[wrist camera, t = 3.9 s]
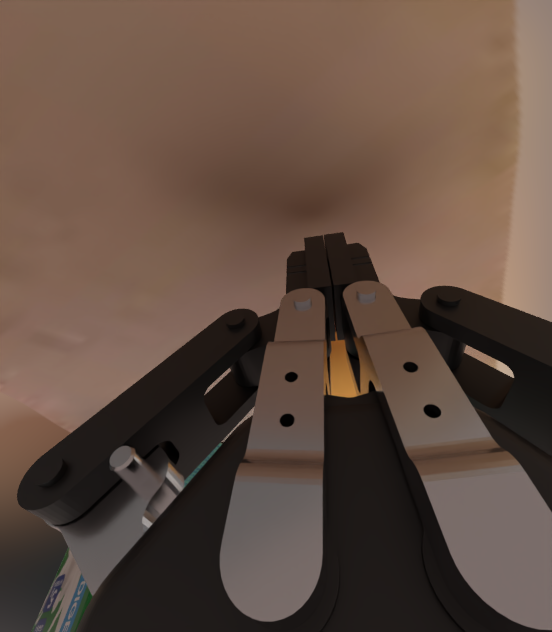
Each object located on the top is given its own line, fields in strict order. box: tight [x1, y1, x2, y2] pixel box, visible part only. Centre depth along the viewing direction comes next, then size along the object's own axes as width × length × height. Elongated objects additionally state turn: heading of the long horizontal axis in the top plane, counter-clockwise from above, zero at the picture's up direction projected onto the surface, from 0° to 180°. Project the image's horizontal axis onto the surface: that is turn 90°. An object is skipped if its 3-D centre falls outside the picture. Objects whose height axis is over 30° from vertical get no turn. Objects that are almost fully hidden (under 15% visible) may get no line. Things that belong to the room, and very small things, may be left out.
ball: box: [330, 332, 357, 398], centre depth 19 cm, size 6×6×6 cm
